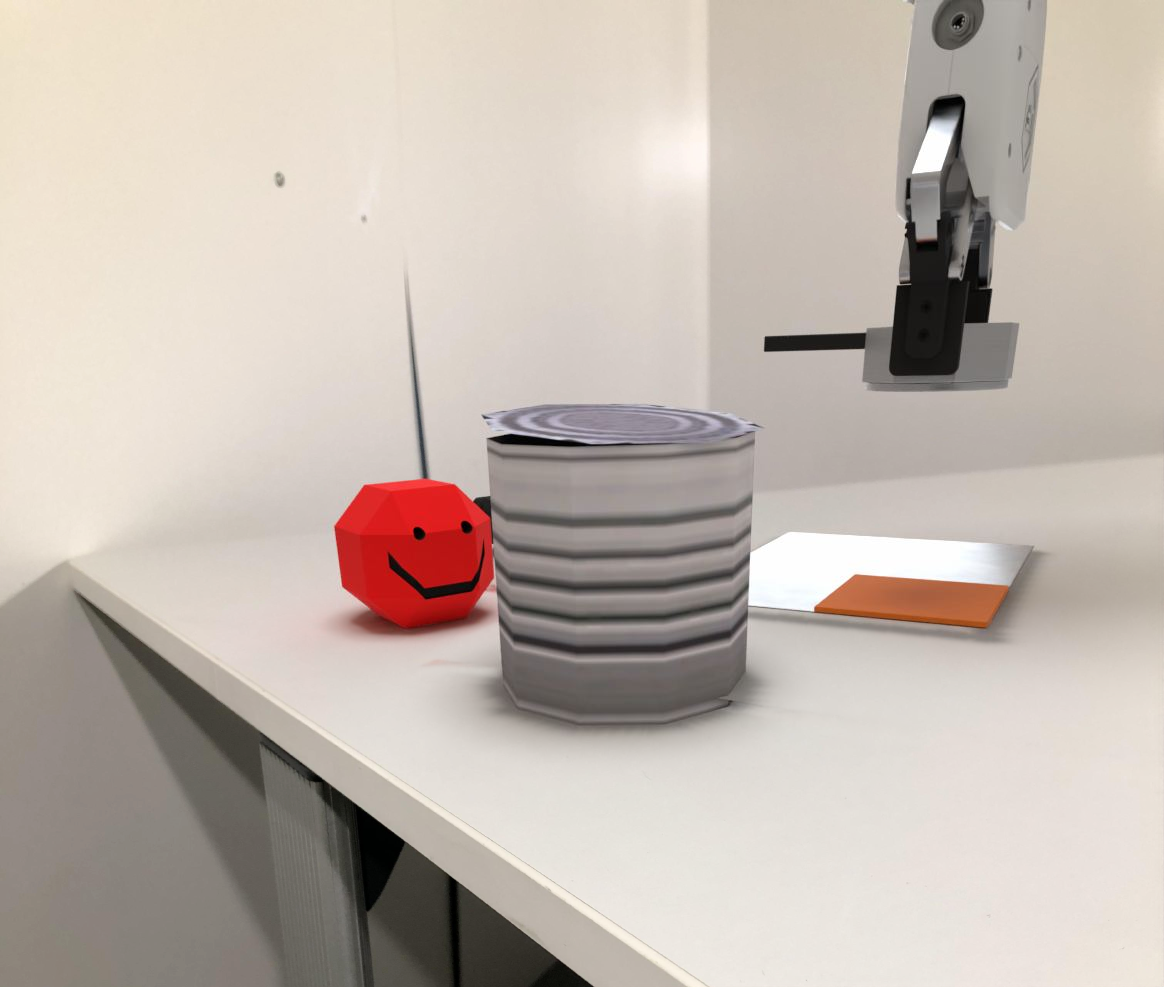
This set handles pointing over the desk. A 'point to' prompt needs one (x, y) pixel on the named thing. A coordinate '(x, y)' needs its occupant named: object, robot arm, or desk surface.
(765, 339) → the pan
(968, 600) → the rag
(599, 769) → the desk surface
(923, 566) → the board
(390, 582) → the ball
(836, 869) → the desk surface
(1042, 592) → the desk surface
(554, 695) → the can
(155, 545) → the desk surface
